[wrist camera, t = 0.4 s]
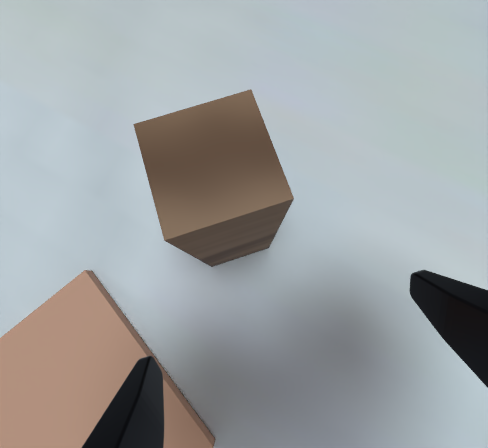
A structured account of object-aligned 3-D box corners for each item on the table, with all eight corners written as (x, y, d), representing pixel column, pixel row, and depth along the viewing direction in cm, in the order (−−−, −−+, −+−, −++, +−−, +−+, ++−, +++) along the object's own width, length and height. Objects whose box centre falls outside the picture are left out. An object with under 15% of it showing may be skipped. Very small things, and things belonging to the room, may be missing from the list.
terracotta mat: (214, 439, 20) (213, 447, 19) (24, 626, 17) (11, 646, 16) (91, 271, 23) (84, 270, 22) (-85, 413, 20) (-102, 419, 19)
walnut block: (268, 247, 23) (293, 198, 10) (211, 266, 23) (164, 240, 10) (249, 194, 24) (251, 89, 11) (195, 211, 24) (133, 124, 11)
